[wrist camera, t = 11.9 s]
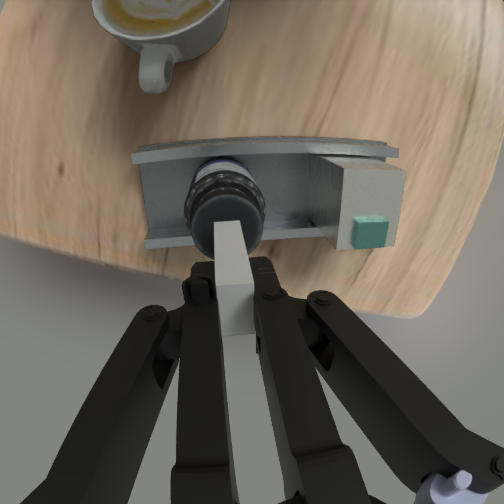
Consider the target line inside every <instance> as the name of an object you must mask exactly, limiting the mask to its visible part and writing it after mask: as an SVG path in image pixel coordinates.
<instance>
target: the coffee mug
mask: <svg viewBox="0 0 504 504" xmlns="http://www.w3.org/2000/svg"><path fill="white" fill-rule="evenodd" d="M229 6H230V0H92V10H93V14H94V16H95V18H96V20H97V22H98V23H99V24H100V26H101V27H102V28H103V29H104V30H106V31H107V32H108V33H110V34H111V35H113V36H114V37H116V38H117V39H119V40H120V41H121V42H123V43H124V44H126V45H127V46H129V47H130V48H132V49H133V50H134V51H136V52H137V53H139V54H140V55H141V57H140V65H139V83H140V87H141V89H142V90H143V91H144V92H146V93H148V94H162V93H164V92H166V90H167V89H168V88H169V86H170V83H171V79H172V74H173V69H174V64H175V63H180V62H185V61H189V60H192V59H194V58H196V57H198V56H200V55H202V54H204V53H205V52H207V51H208V50H209V49H211V48H212V47H213V46H214V45H215V44H216V43H217V42H218V40H219V39H220V38H221V36H222V34H223V32H224V30H225V28H226V24H227V18H228V12H229Z"/></svg>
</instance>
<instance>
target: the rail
mask: <svg viewBox="0 0 504 504" xmlns="http://www.w3.org/2000/svg"><path fill="white" fill-rule="evenodd" d="M131 156H132V165H133V164H140V171H141V179H142V187H143V194H144V201H145V208H146V214H147V220H148V226H149V231H148V233H147V235H146V237H145V239H144V242H145V247H146V249H154V248H166V247H179V246H192V245H195V243H194V241H193V239H192V236H191V233H190V232H189V230H188V228H187V226H186V223H185V219H184V205H185V200H186V197H187V195H188V191H189V188H190V185H191V182H192V179H193V176H194V174H195V173H196V171H197V170H198V169H199V168H200V167H201V166H202V165H203V164H204V163H206V162H207V161H209V160H211V159H216V158H231V159H234V160H236V161H238V162H239V163H241V164H242V165H244V166H245V167H246V169H247V170H248V171H249V172H250V174H251V176H252V178H253V179H254V181H255V183H256V184H257V186H258V188H259V189H260V191H261V193H262V195H263V197H264V200H265V205H266V215H265V216H266V217H265V221H264V224H263V234H262V237H261V240H274V239H289V238H303V237H319V236H325V237H326V239H327V240H328V241H329V242H330V244H331V245H332V246H333V247H334V249H335V250H336V251H339V250H351V249H355V250H356V249H368V248H380V247H387V246H394V243H395V238H396V233H397V228H398V223H399V217H400V211H401V205H402V198H403V192H404V184H405V176H406V171H404V170H402V169H399V168H397V167H395V166H392V165H390V164H387V163H385V161H386V157H392V158H398V157H399V149H398V148H395V147H392V146H388V145H387V143H385V142H381V141H371V140H360V139H346V138H329V137H300V136H261V137H232V138H215V139H201V140H189V141H179V142H170V143H161V144H153V145H146V146H140V147H138V150H137V151H135V152H134V153H132V154H131Z"/></svg>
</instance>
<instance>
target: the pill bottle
mask: <svg viewBox="0 0 504 504" xmlns="http://www.w3.org/2000/svg"><path fill="white" fill-rule="evenodd" d="M265 215H266V205H265V200H264V197H263V195H262V193H261V191H260V189H259V188H258V186H257V184H256V183H255V181H254V179H253V178H252V176H251V174H250V172H249V171H248V170H247V169H246V167H245V166H244V165H242V164H241V163H239V162H238V161H236V160H234V159H231V158H216V159H211V160H209V161H207V162H206V163H204V164H203V165H202V166H201V167H200V168H199V169H198V170H197V171H196V173H195V174H194V176H193V179H192V182H191V185H190V188H189V191H188V195H187V197H186V200H185V205H184V219H185V223H186V226H187V228H188V230H189V232H190V233H191V236H192V239H193V241H194V243H195V245H196V247H197V248H198V249H199V250H200V251H201V252H202V253H203V254H204V255H206V256H207V257H209V258H211V259H214V260H215V252H214V222H223V221H238V220H240V224H241V229H242V233H243V237H244V242H245V246H246V250H247V255H248V254H250V253H251V252H252V251H253V250H254V249H255V248H256V247H257V245H258V244H259V241H260V240H261V237H262V234H263V224H264V221H265V217H266V216H265Z"/></svg>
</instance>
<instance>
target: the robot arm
mask: <svg viewBox="0 0 504 504" xmlns="http://www.w3.org/2000/svg"><path fill="white" fill-rule="evenodd" d="M214 252H215V261H208V262H196V263H195V264H194V265H193V267H192V268H191V276H190V277H189V278H187V279H186V280H185V281H183V284H182V290H183V295H184V300H185V304H184V305H183V306H181V307H179V308H177V309H175V310H171V311H168V312H167V311H166V309H165V308H164V307H163V306H159V305H150V306H146V307H144V308H142V309H141V310H140V311H139V312H138V313H137V314H136V315H135V317H134V318H133V320H132V322H131V323H130V325H129V327H128V328H127V330H126V331H125V333H124V334H123V336H122V338H121V339H120V341H119V343H118V344H117V346H116V348H115V349H114V351H113V353H112V354H111V356H110V358H109V360H108V361H107V363H106V364H105V366H104V368H103V370H102V371H101V373H100V375H99V377H98V378H97V380H96V382H95V384H94V385H93V387H92V389H91V391H90V392H89V395H88V396H87V398H86V400H85V402H84V403H83V405H82V407H81V409H80V411H79V413H78V415H77V417H76V418H75V420H74V422H73V424H72V426H71V428H70V430H69V432H68V434H67V436H66V438H65V440H64V442H63V444H62V446H61V448H60V450H59V452H58V454H57V456H56V458H55V460H54V463H53V465H52V467H51V469H50V471H49V473H48V476H47V478H46V479H45V480H44V481H43V482H42V483H41V484H40V485H39V486H38V487H37V488H36V489H35V490H34V491H33V492H32V493H31V494H30V495H29V496H28V497H26V498H25V499H24V500H23V501H22V502H21V503H20V504H127V503H128V500H129V497H130V494H131V491H132V488H133V485H134V483H135V480H136V477H137V474H138V471H139V468H140V465H141V462H142V459H143V457H144V454H145V451H146V448H147V446H148V443H149V440H150V437H151V434H152V432H153V429H154V426H155V423H156V421H157V418H158V415H159V413H160V410H161V407H162V405H163V402H164V399H165V397H166V394H167V391H168V388H169V386H170V384H171V381H172V378H173V376H174V373H175V370H176V368H177V365H178V363H179V358H180V365H179V382H178V402H177V432H176V433H177V434H176V464H175V465H174V466H173V468H172V471H171V504H240V503H239V497H238V491H237V485H236V477H235V469H234V460H233V452H232V443H231V433H230V424H229V414H228V403H227V393H226V381H225V369H224V356H223V346H222V345H223V344H222V336H234V335H244V334H255V331H256V353H258V355H259V360H260V365H261V370H262V375H263V381H264V385H265V391H266V396H267V401H268V406H269V411H270V416H271V421H272V426H273V431H274V436H275V441H276V446H277V450H278V456H279V461H280V465H281V470H282V475H283V480H284V493H285V499H286V501H283V502H281V503H278V504H386V503H384V502H382V501H380V500H379V499H377V498H375V497H373V496H371V495H368V493H367V490H366V487H365V484H364V481H363V479H362V476H361V472H360V470H359V467H358V464H357V461H356V458H355V456H354V454H353V451H352V450H351V449H350V447H349V446H347V445H345V444H343V443H342V442H341V439H340V436H339V434H338V431H337V428H336V425H335V422H334V419H333V416H332V414H331V411H330V408H329V405H328V402H327V400H326V397H325V394H324V391H323V388H322V385H321V383H320V380H319V377H318V375H317V372H316V369H317V370H318V371H319V372H320V374H321V375H322V377H323V378H324V380H325V381H326V382H327V384H328V385H329V387H330V388H331V389H332V391H333V392H334V393H335V395H336V396H337V398H338V399H339V400H340V402H341V403H342V404H343V406H344V407H345V408H346V410H347V411H348V412H349V414H350V415H351V416H352V418H353V419H354V421H355V422H356V423H357V425H358V426H359V427H360V429H361V430H362V431H363V433H364V434H365V435H366V437H367V438H368V439H369V441H370V442H371V443H372V445H373V446H374V447H375V449H376V450H377V451H378V453H379V454H380V455H381V457H382V458H383V459H384V461H385V462H386V463H387V465H388V466H389V467H390V469H391V470H392V471H393V473H394V474H395V475H396V476H397V477H398V478H399V480H400V481H401V482H402V483H403V484H404V485H406V486H407V487H408V488H409V489H410V490H412V491H413V492H415V493H416V498H415V502H414V504H484V502H485V500H486V498H487V495H488V494H489V493H490V492H491V491H492V490H494V489H496V488H497V487H499V486H501V485H502V484H504V448H502V447H500V446H498V445H496V444H494V443H492V442H490V441H488V440H486V439H485V438H483V437H481V436H479V435H477V434H475V433H473V432H471V431H469V430H467V429H466V428H465V427H464V426H463V425H462V424H461V423H460V422H459V421H458V419H457V418H456V417H455V416H454V415H453V414H452V413H451V412H450V411H449V410H448V409H447V408H446V407H445V406H444V405H443V403H442V402H441V401H440V400H439V399H438V398H437V397H436V396H435V395H434V394H433V393H432V392H431V391H430V390H429V389H428V388H427V387H426V385H425V384H424V383H422V381H421V380H419V378H418V377H417V376H416V375H415V374H414V373H413V372H412V371H411V370H410V369H409V368H408V367H407V366H406V365H405V364H404V363H403V362H402V361H401V360H400V359H399V358H398V357H397V355H395V353H394V352H393V351H392V350H391V349H390V348H389V347H388V346H387V345H386V344H385V343H384V342H383V341H382V340H381V339H380V338H379V337H378V336H377V335H376V334H375V333H374V332H373V331H372V330H371V329H370V328H369V327H368V326H367V325H366V324H365V323H364V322H363V321H362V320H361V319H360V318H359V317H358V316H357V315H356V314H355V313H354V312H353V311H352V310H351V309H350V308H348V307H347V306H346V305H345V304H344V303H343V302H342V301H341V300H340V299H339V298H338V297H337V296H336V295H335V294H333V293H331V292H328V291H323V290H319V291H314V292H312V293H310V294H309V295H308V296H307V299H299V298H293V297H290V296H288V293H287V292H286V291H285V290H284V289H283V288H281V286H280V283H279V281H278V278H277V275H276V273H275V270H274V268H273V264H272V262H271V260H269V259H268V258H267V257H266V256H264V257H251V258H248V255H247V250H246V246H245V242H244V237H243V233H242V229H241V224H240V220H238V221H223V222H214ZM315 367H316V369H315Z"/></svg>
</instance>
